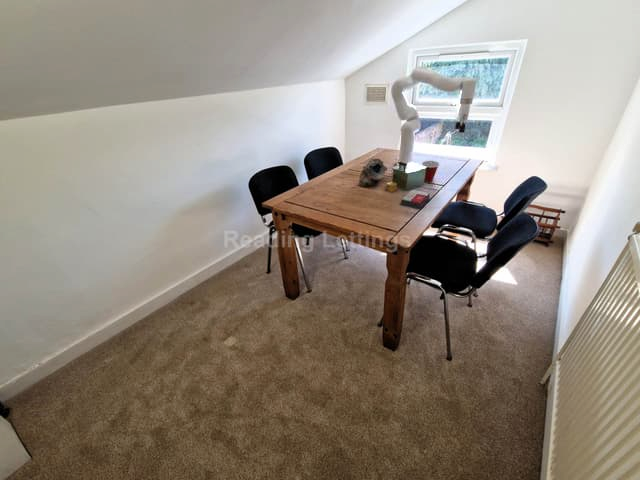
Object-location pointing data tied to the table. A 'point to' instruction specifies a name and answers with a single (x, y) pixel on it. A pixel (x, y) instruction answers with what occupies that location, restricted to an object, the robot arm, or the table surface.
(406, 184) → the bin
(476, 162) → the table surface
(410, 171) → the bin lid
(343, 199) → the table surface
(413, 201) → the calculator
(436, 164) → the plastic cup
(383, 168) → the hollow geode rock
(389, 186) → the block
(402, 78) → the robot arm
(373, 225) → the table surface
